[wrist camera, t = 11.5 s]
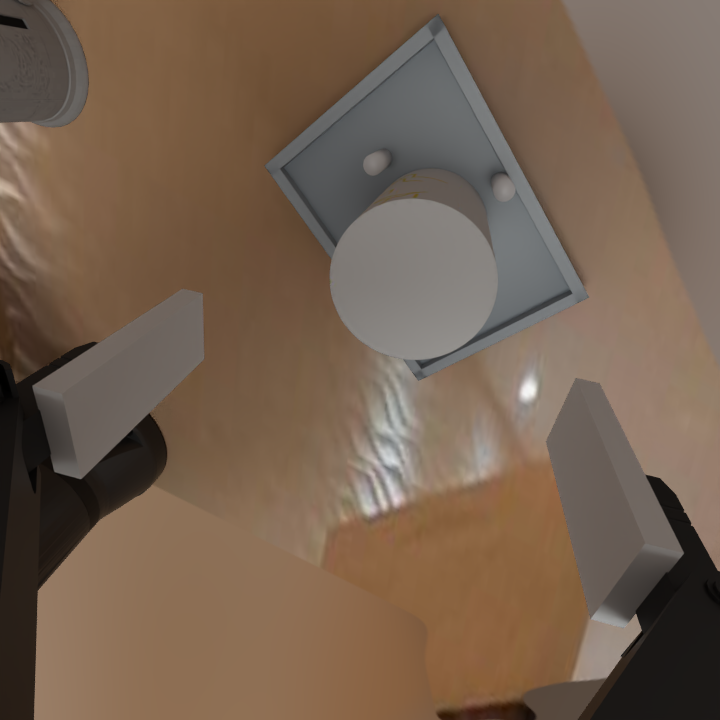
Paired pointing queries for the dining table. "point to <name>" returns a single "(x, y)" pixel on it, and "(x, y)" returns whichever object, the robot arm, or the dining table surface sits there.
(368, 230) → the cup
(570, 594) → the dining table surface
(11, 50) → the glass holder
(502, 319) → the tray
